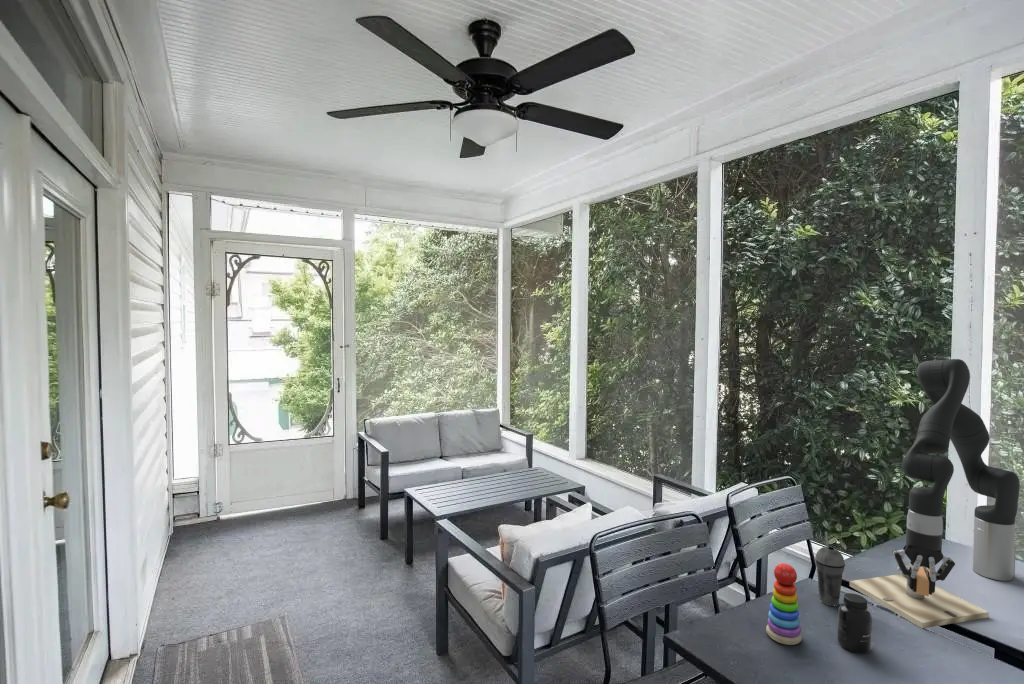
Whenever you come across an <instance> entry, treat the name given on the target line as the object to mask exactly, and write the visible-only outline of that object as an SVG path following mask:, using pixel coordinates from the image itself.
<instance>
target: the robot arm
mask: <svg viewBox="0 0 1024 684" xmlns="http://www.w3.org/2000/svg"><path fill="white" fill-rule="evenodd" d="M916 375H917V379H918V382H919V383H920V386H921V388H922V390H923V392H924V393H925V394H926V396H927V398H928V400H930V402H931V404H932V405H933V406H931V407H930V408H929V409H928V410H927V411H926V412H925V413H924V414H923V416H922V417H921V419H920V421H919V425H918V429H917V433H916V438H915V440H914V442H913V444H912V446H911V447H910V448H909V449H908V450H907V452H906V454H905V455H904V457H903V459H902V462H901V467H902V468H901V469H902V472H903V474H905V475H906V477H908V478H910V479H911V478H912V479H914V480H921V481H925V482H931V483H934V485H933V486H930V487H921V486H920V487H912V488H911V489H910V490H909V495H908V497H909V498H908V511H907V516H906V529H905V530H906V533H905V544H904V546H903V549H898V550H897V549H893V550H892V551H891V552H892V553H891V554H892V555H893V557H894V559H895V561H896V564H897V567H899V568H900V570H901V571H900V572H901V573H902V572H903V574H904V575H908V586H909V587H910V589H911V590H912V591H913V592H916V587H917V579H916V576H917V572H918V571H919V568H920V567H923V566H924V567H926V569H927V576H928V580H929V594H930V595H932V593H934V592H935V586H936V582H937V581H942V582H944V581H945V580H946V578H947V577H948V576H949V574H950V573H951V571H952V570H953V568H955V565H956V562H955V561H953V560H952V559H951V557H947V556H944V553H943V552H942V549H943V548H942V546H943V533H944V519H943V506H944V504H943V503H944V498H945V497H944V496H945V494H946V490H947V487H948V486H949V483H950V481H951V479H952V478H953V475H954V472H955V468H954V464H953V462H952V461H951V459H949V458H948V457H946V456H942V455H935V454H943V453H946V452H947V451H948V449H949V446H950V443H952V445H953V447H954V449H955V452H956V453H957V456H958V459H959V461H960V463H961V466H962V469H963V471H964V475H965V478H966V480H967V484H968V485H969V487H970V488H971V490H972V491H973V492H974V493H977V494H979V495H981V496H986V497H989V498H993V499H995V501H994V504H993V505H989V504H988V505H978V506H976V507H975V508H974V517H973V518H974V519H973V545H972V547H973V548H972V549H973V550H972V571H973V572H974V573H976V574H978V575H979V576H982V577H985V578H988V579H990V580H996V581H1002V582H1008V581H1012V580H1014V577H1015V576H1016V552H1017V551H1016V549H1017V548H1016V546H1015V530H1016V529H1015V527H1016V516H1017V514H1018V513H1017V512H1018V507H1019V498H1020V486H1021V485H1020V478H1019V476H1018V474H1016V472H1013V471H1012V470H1007V469H1002V468H1000V467H999V468H998V467H993V466H989V465H988V464H986V463H985V462H984V460H983V458H982V455H983V453H984V451H985V450H986V449H987V447H988V445H989V443H990V439H991V438H990V434H989V431H988V428H987V427H986V424H985V422H984V420H983V419H982V417H981V416H980V415H979V414H978V413H976V412H975V411H974V410H973V409H971V408H969V407H968V406H966V405H965V404H963V400H964V399H965V396H966V393H967V391H968V389H969V385H970V382H971V381H970V380H971V376H970V375H971V374H970V369H969V366H968V364H967V363H966V362H965V361H964V360H962V359H960V358H947V359H936V360H927V361H922V362H920V363H919V364H918V366H917V368H916ZM905 555H906V556H907V557H908V560H909V561H908V562H909V569H907V568H906V567H905V564H904V562H905V561H904V559H905ZM939 562H940V563H941V565H940V566H939V568H938V569H937V570H936V566H937V565H938V564H939Z"/></svg>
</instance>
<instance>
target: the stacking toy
mask: <svg viewBox="0 0 1024 684" xmlns="http://www.w3.org/2000/svg"><path fill="white" fill-rule="evenodd" d="M773 575H774V577H775V579H776V580H775V581H774V582H773V588H774V589H772V597H771V599H770V601H771V602H770V604H769V611H768V619H767V625H766V626H765V628H766V629H765V631H766V634H767V635H768V637H770V639H772V640H773V641H775V642H777V643H779V644H783V645H787V646H795V645H798V644H799V643H801V641H802V640H803V639H802V638H803V636H802V626H801V624H800V623H801V622H800V620H801V619H800V618H799V615H800V612H799V603H798V599H799V597H798V594H797V586H796V585H795V583H796V581H797V578H798V574H797V571H796V569H795V568H794V567H793V566H792V565H791V564H788V563H784V562H783V563H778V564H777V565H776V566H775V567H774V569H773Z"/></svg>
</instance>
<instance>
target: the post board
mask: <svg viewBox="0 0 1024 684" xmlns="http://www.w3.org/2000/svg"><path fill="white" fill-rule="evenodd" d="M849 587H850V588H852V589H854V590H855V591H857V592H859V593H861V594H863V595H864V596H866V597H868V599H871V600H872V601H875V602H876V603H878V604H879V605H881V606H883V607H885V608H886V609H888V610H890V611H891V612H893V613H895V614H897V615H898V616H900V617H901V618H903V619H905V620H906V621H908V622H910V623H912V624H914V625H915V626H917V627H919V628H920V629H927V628H933V627H940V626H946V625H950V624H957V623H964V622H969V621H976V620H982V619H987V618H988V619H989V617H990V611H988V610H986V609H984V608H982V607H980V606H978V605H976V604H974V603H972V602H970V601H967V600H966V599H963V598H961V597H959V596H958V595H956V594H953V593H952V592H949V591H948V590H946V589H943V588H941V587H940V586H937V585H935V592H934V593H932V595H930V594H929V596H924V595H920V594H917V592H913V591H912V590H911V589H910V587H909V586H908V579H907V578H905V577H903V576H902V573H900V574H892V575H885V576H877V577H869V578H864V579H855V580H849Z"/></svg>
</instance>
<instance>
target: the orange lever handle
mask: <svg viewBox="0 0 1024 684" xmlns="http://www.w3.org/2000/svg"><path fill="white" fill-rule="evenodd" d="M903 562H904V564H905V567H906V568H907V569H909V562H910V561H903ZM896 568H897V571H899V572H901V574H902V576H903V577H905V578H907V579H908V575H904V574H903V572H902V571H901V570H900V568H899V566H897V567H896ZM916 579H917V587H916V592H917V594H920V595H924V596H929V580H928V576H927V569H926V567H924V566H923V567H920V568H919V571H918V572H917V576H916Z"/></svg>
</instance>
